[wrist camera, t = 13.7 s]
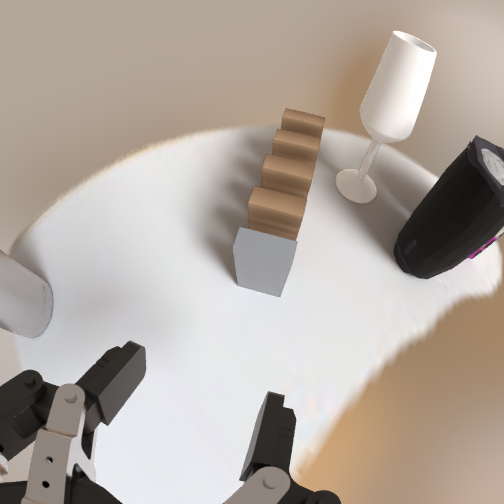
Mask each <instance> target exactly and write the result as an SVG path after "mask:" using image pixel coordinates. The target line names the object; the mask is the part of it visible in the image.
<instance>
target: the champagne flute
mask: <svg viewBox="0 0 504 504" xmlns="http://www.w3.org/2000/svg"><path fill="white" fill-rule="evenodd" d="M436 54H437V52H436V51H435V49H434V48H432V47H431V46H429V45H428V44H427V43H425V42H423V41H422V40H420V39H418V38H416V37H414V36H411V35H409V34H406V33H403V32H400V31H393V33H392V35H391V37H390V40H389V42H388V45H387V47H386V49H385V52H384V54H383V57H382V59H381V61H380V63H379V66H378V68H377V70H376V73H375V75H374V77H373V79H372V82H371V84H370V86H369V88H368V91H367V93H366V95H365V97H364V100H363V102H362V104H361V107H360V117H361V120H362V123H363V125H364V127H365V128H366V130H367V131H368V133H369V134H370V135H371V137H372V138H373V139H372V141H371V144H370V146H369V149H368V151H367V153H366V155H365V158H364V160H363V162H362V165H361V167H360V169H359V170H357V169H344V170H341V171H340V172H339V173H338V174H337V176H336V179H335V182H336V186H337V188H338V190H339V192H340V193H341V194H342V195H343V196H344V197H346V198H347V199H349V200H351V201H353V202H356V203H368V202H371V201H372V200H373V199H374V198H375V197H376V193H377V189H376V186H375V183H374V182H373V180H372V179H371V178H370V177H369V176H368V175H367V171H368V169H369V167H370V165H371V163H372V161H373V159H374V157H375V155H376V152H377V150H378V148H379V146H380V144H381V142H382V143H391V142H398V141H401V140H404V139H405V138H407V137H408V136H409V135H410V133H411V132H412V129H413V127H414V124H415V121H416V119H417V116H418V113H419V110H420V107H421V104H422V101H423V98H424V95H425V92H426V89H427V86H428V82H429V79H430V76H431V72H432V69H433V65H434V62H435V58H436Z"/></svg>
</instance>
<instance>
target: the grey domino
mask: <svg viewBox="0 0 504 504" xmlns="http://www.w3.org/2000/svg"><path fill="white" fill-rule="evenodd" d="M296 246H297V241H293V240H289V239H285V238H282V237H278V236H274V235H270V234H266V233H262V232H258V231H254V230H250V229H246V228H242V227H240V228H239V230H238V233H237V236H236V239H235V242H234V244H233V247H232V248H233V255H234V262H235V269H236V277H237V284H238V286H240V287H244V288H248V289H251V290H255V291H259V292H262V293H266V294H270V295H274V296H277V297H280V296H281V294H282V291H283V288H284V285H285V283H286V280H287V277H288V274H289V271H290V269H291V266H292V263H293V259H294V255H295V250H296Z"/></svg>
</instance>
